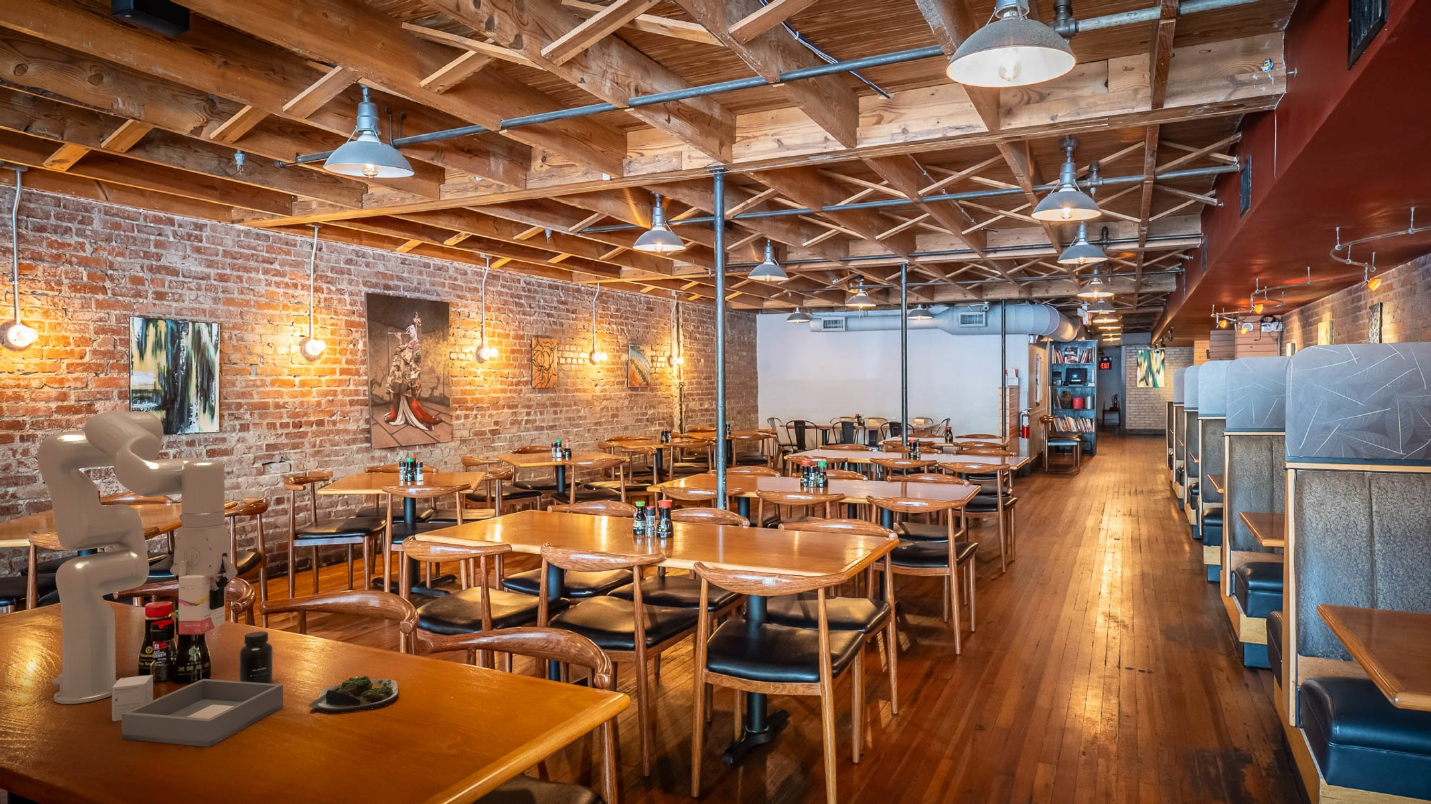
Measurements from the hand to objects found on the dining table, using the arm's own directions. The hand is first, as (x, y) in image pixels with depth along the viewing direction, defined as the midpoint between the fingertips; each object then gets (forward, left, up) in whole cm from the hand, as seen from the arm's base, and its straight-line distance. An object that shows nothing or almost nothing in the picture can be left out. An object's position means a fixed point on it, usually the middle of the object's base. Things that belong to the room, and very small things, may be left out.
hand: (203, 606), depth 167 cm
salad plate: (+23, +17, -25) cm, 38 cm away
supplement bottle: (-6, +21, -25) cm, 33 cm away
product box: (-19, +1, -25) cm, 31 cm away
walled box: (0, 0, -24) cm, 24 cm away
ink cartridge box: (0, 0, -5) cm, 5 cm away
